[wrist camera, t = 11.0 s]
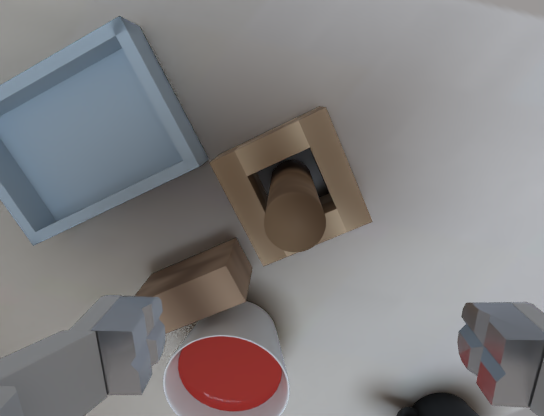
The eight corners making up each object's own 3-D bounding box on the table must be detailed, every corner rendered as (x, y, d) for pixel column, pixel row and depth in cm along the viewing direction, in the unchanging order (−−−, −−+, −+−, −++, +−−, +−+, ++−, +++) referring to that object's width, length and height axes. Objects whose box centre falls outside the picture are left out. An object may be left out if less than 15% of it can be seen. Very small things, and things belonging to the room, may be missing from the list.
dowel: (281, 204, 27) (279, 261, 17) (265, 169, 26) (253, 209, 17) (317, 188, 26) (335, 238, 17) (301, 153, 26) (311, 183, 16)
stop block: (169, 302, 30) (147, 340, 25) (151, 274, 29) (125, 307, 24) (252, 268, 29) (245, 301, 24) (235, 237, 28) (225, 265, 23)
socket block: (266, 243, 28) (263, 266, 24) (220, 153, 26) (209, 162, 22) (359, 204, 27) (372, 221, 23) (319, 106, 25) (325, 107, 21)
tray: (58, 231, 28) (33, 245, 25) (-19, 116, 26) (-58, 118, 23) (208, 159, 26) (199, 166, 23) (139, 26, 23) (119, 16, 21)
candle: (266, 273, 29) (261, 319, 23) (302, 358, 31) (307, 420, 25) (170, 304, 30) (141, 356, 24) (211, 384, 32) (195, 449, 26)
